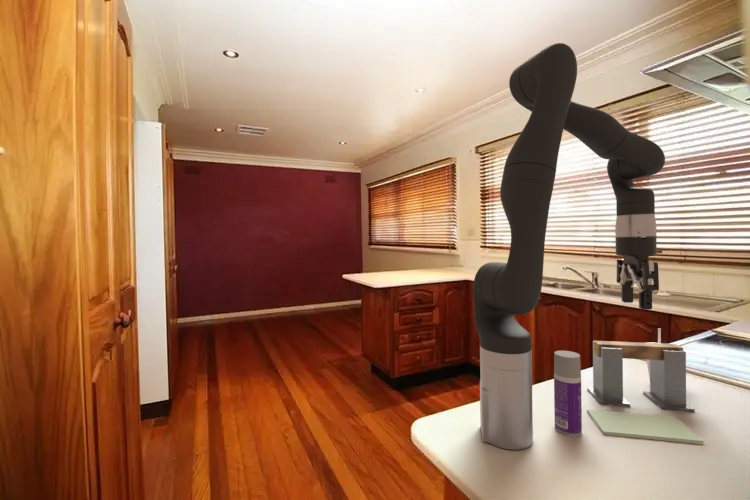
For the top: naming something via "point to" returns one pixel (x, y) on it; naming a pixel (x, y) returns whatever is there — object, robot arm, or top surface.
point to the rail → (637, 349)
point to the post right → (669, 381)
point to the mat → (643, 426)
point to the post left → (608, 377)
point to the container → (567, 393)
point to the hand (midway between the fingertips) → (636, 305)
